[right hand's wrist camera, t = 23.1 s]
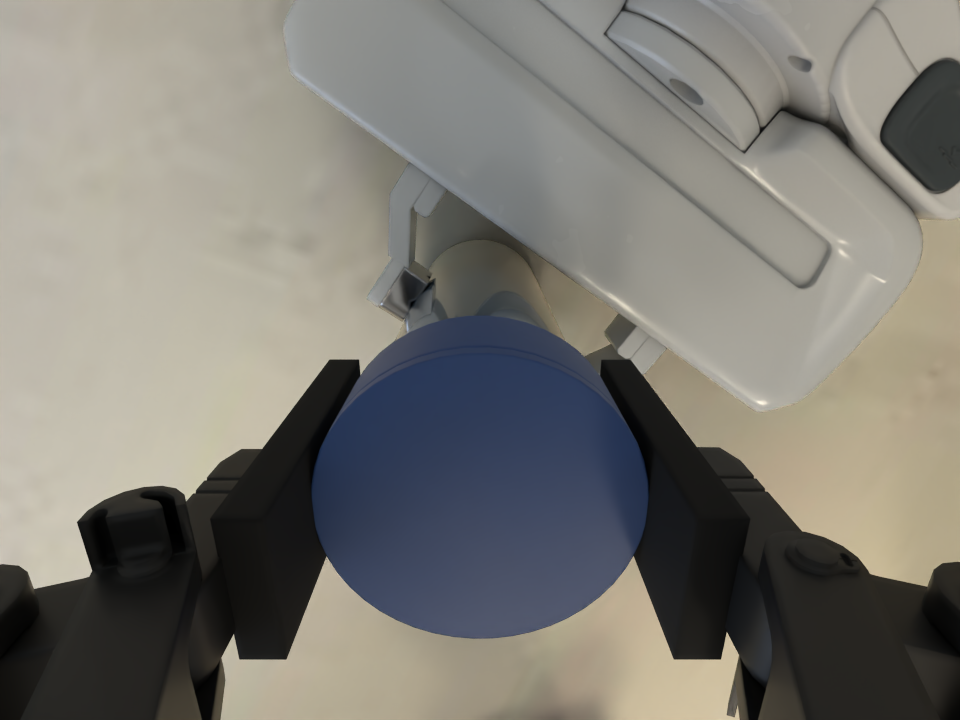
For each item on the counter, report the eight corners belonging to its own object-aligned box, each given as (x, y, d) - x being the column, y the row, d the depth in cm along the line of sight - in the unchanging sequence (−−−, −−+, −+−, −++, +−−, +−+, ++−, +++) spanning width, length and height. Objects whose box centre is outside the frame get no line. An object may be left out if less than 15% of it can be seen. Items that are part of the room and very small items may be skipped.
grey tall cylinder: (562, 298, 25) (672, 483, 11) (479, 374, 27) (479, 628, 12) (480, 213, 24) (481, 294, 10) (397, 297, 25) (287, 481, 11)
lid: (599, 562, 13) (623, 645, 11) (347, 553, 13) (320, 634, 11) (637, 321, 11) (677, 361, 9) (335, 306, 11) (298, 344, 9)
